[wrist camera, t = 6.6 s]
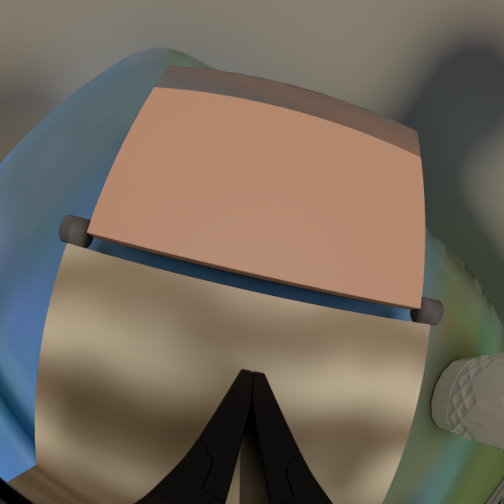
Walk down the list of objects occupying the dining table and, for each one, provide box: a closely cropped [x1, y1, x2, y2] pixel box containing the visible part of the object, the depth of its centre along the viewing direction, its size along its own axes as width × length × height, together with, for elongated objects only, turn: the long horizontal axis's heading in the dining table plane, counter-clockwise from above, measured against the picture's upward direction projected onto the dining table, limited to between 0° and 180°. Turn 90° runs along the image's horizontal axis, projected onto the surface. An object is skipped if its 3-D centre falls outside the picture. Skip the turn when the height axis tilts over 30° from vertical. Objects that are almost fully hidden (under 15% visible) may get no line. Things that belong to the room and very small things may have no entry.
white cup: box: [431, 352, 504, 450], centre depth 12 cm, size 8×8×10 cm
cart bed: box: [7, 215, 443, 504], centre depth 12 cm, size 18×23×8 cm
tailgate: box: [87, 66, 425, 309], centre depth 16 cm, size 3×19×13 cm
